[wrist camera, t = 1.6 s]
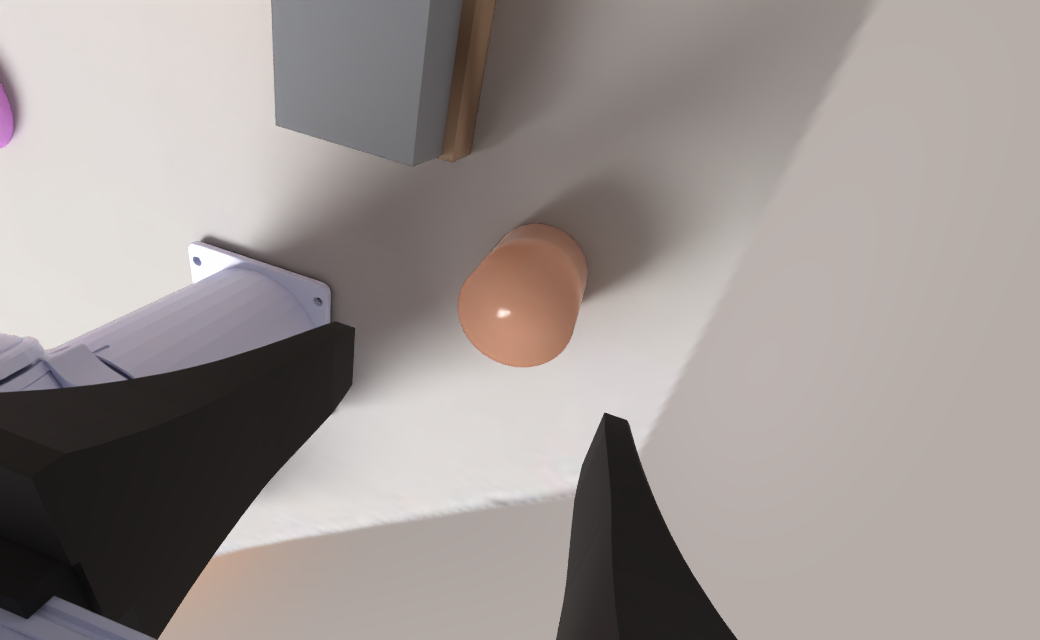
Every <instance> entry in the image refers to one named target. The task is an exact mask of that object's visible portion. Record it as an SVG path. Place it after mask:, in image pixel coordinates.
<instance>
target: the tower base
mask: <svg viewBox="0 0 1040 640" xmlns="http://www.w3.org/2000/svg"><path fill="white" fill-rule="evenodd" d="M495 3H496V0H463V2H462V10H461V17H460V25H459V32H458V40H457V47H456V54H455V62H454V69H453V76H452V83H451V91H450V98H449V105H448V113H447V120H446V127H445V135H444V142H443V149H442V156H439V157H436V158H439V159H442V160H446V161H449V162H454V161H456V160H458V159H461V158H463V157H465V156H467V155H469V154H470V152H471V146H472V140H473V134H474V129H475V123H476V117H477V111H478V105H479V99H480V93H481V87H482V81H483V75H484V69H485V63H486V57H487V51H488V45H489V39H490V33H491V27H492V21H493V15H494V9H495Z"/></svg>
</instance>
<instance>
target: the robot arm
mask: <svg viewBox="0 0 1040 640" xmlns="http://www.w3.org/2000/svg"><path fill="white" fill-rule="evenodd" d="M188 251H189V258H190V264H191V271H192V278H193V284H191V285H189V286H187V287H185V288H182V289H180V290H178V291H176V292H174V293H172V294H169V295H167V296H165V297H163V298H161V299H159V300H157V301H154V302H152V303H150V304H148V305H146V306H144V307H142V308H139V309H137V310H135V311H133V312H131V313H129V314H127V315H124V316H122V317H120V318H118V319H116V320H114V321H112V322H109V323H107V324H105V325H103V326H101V327H99V328H97V329H94V330H92V331H90V332H88V333H86V334H84V335H81V336H79V337H77V338H75V339H73V340H71V341H69V342H66V343H64V344H62V345H60V346H58V347H56V348H54V349H49V350H44V349H43V347H42V346H41V344H40V343H39V341H38V340H36V339H35V338H33V337H23V338H20V337H18V336H13V335H8V334H0V640H158V638H159V636H160V635H161V633H162V632H163V630H164V629H165V627H166V626H167V624H168V622H169V621H170V619H171V618H172V616H173V615H174V613H175V612H176V610H177V608H178V607H179V605H180V604H181V602H182V601H183V599H184V598H185V596H186V595H187V593H188V591H189V590H190V588H191V587H192V585H193V584H194V583H195V581H196V580H197V578H198V577H199V575H200V574H201V572H202V571H203V570H204V568H205V567H206V565H207V564H208V562H209V561H210V559H211V558H212V557H213V555H214V554H215V552H216V551H217V549H218V548H219V547H220V545H221V544H222V542H223V541H224V540H225V538H226V537H227V536H228V534H229V533H230V531H231V530H232V529H233V527H234V526H235V525H236V523H237V522H238V521H239V519H240V518H241V516H242V515H243V514H244V513H245V511H246V510H247V509H248V507H249V506H250V505H251V503H252V502H253V501H254V500H255V498H256V497H257V496H258V494H259V493H260V492H261V490H262V489H263V488H264V487H265V485H266V484H267V483H268V482H269V481H270V480H271V478H272V477H273V476H274V475H275V474H276V473H277V472H278V471H279V469H280V468H281V467H282V466H283V465H284V464H285V463H286V462H287V461H288V460H289V459H290V458H291V457H292V456H293V455H294V454H295V452H296V451H297V450H298V449H299V448H300V447H301V446H302V445H303V444H304V443H305V442H306V441H307V440H308V439H309V438H310V437H311V435H312V434H313V433H314V432H315V431H316V430H317V429H318V428H319V427H320V426H321V425H322V424H323V423H324V421H325V420H326V419H327V418H328V417H329V416H330V415H331V414H332V412H333V411H334V410H335V408H336V407H337V406H338V404H339V403H340V402H341V400H342V399H343V397H344V396H345V394H346V393H347V391H348V390H349V389H350V387H351V386H352V378H353V358H354V339H355V328H353V327H350V326H347V325H344V324H341V323H338V322H332V323H330V305H331V292H330V289H329V287H328V286H327V285H326V284H325V283H323V282H321V281H318V280H315V279H312V278H309V277H305V276H302V275H299V274H296V273H293V272H290V271H287V270H284V269H281V268H278V267H275V266H272V265H269V264H266V263H263V262H260V261H257V260H254V259H251V258H248V257H245V256H242V255H239V254H236V253H233V252H230V251H227V250H224V249H221V248H218V247H215V246H212V245H209V244H206V243H203V242H199V241H196V242H194V243H191V244H190V245H189V246H188ZM318 298H320V299H321V300H322V302H320V301H319V300H318ZM556 640H737V638H736V637H735V636H734V634H733V633H732V632H731V630H730V629H729V628H728V626H727V625H726V623H725V622H724V621H723V619H722V618H721V617H720V615H719V614H718V612H717V611H716V609H715V608H714V606H713V605H712V603H711V601H710V600H709V598H708V597H707V595H706V594H705V592H704V591H703V589H702V588H701V586H700V585H699V583H698V581H697V580H696V578H695V577H694V575H693V574H692V572H691V570H690V568H689V567H688V565H687V563H686V562H685V560H684V558H683V557H682V555H681V553H680V551H679V549H678V547H677V545H676V543H675V542H674V540H673V538H672V536H671V534H670V532H669V530H668V528H667V525H666V523H665V521H664V519H663V517H662V515H661V512H660V510H659V508H658V506H657V504H656V501H655V499H654V496H653V494H652V491H651V489H650V486H649V484H648V481H647V478H646V476H645V473H644V471H643V468H642V465H641V462H640V459H639V456H638V453H637V450H636V446H635V443H634V440H633V436H632V433H631V429H630V425H629V423H628V421H627V420H625V419H622V418H619V417H616V416H613V415H610V414H607V413H604V415H603V417H602V420H601V422H600V424H599V427H598V429H597V431H596V434H595V436H594V438H593V441H592V443H591V445H590V448H589V450H588V453H587V455H586V457H585V460H584V462H583V464H582V468H581V472H580V477H579V481H578V486H577V490H576V495H575V500H574V509H573V520H572V529H571V539H570V549H569V559H568V570H567V580H566V588H565V596H564V602H563V607H562V612H561V617H560V622H559V627H558V633H557V638H556Z"/></svg>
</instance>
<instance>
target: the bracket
mask: <svg viewBox="0 0 1040 640" xmlns="http://www.w3.org/2000/svg"><path fill="white" fill-rule="evenodd" d="M13 130H14V121H13V114H12V110H11V106H10V103H9V100H8V98H7V95H6V93H5V91H4V89H3V87H2V85H1V83H0V148H3V147H5V146H6V145H7V144H8V143H9V142H10V140H11V138H12V135H13Z"/></svg>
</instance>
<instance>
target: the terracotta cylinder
mask: <svg viewBox="0 0 1040 640" xmlns="http://www.w3.org/2000/svg"><path fill="white" fill-rule="evenodd" d="M587 279H588V267H587V262H586V258H585V256H584V254H583V251H582V250H581V248H580V246H579V245H578V244H577V243H576V241H575V240H574V239H573V238H572V237H571V236H569V235H568V234H567V233H565V232H564V231H562V230H560V229H558V228H556V227H553V226H550V225H546V224H527V225H523V226H520V227H517V228H515V229H513V230H512V231H510V232H509V233H507V234H506V235H505V236H504V237H503V238H502V239H501V240H500V242H499V243H498V244H497V245H496V246H495V247H494V248H493V250H492V251H491V252H490V253H489V254H488V255H487V256H486V258H485V259H484V260H483V261H482V262H481V263H480V265H479V266H478V267H477V268H476V269H475V270H474V271H473V273H472V274H471V275H470V276H469V277H468V278H467V280H466V281H465V283H464V284H463V286H462V289H461V291H460V294H459V298H458V315H459V320H460V323H461V326H462V328H463V331H464V333H465V334H466V336H467V338H468V339H469V340H470V342H471V343H472V344H473V345H474V346H475V347H476V348H477V349H478V350H479V351H480V352H482V353H483V354H484V355H486V356H487V357H489V358H490V359H492V360H494V361H496V362H499V363H502V364H505V365H508V366H514V367H533V366H538V365H541V364H544V363H546V362H548V361H551V360H552V359H554V358H555V357H557V356H558V355H559V354H560V353H561V352H562V351H563V350H564V349H565V348H566V346H567V344H568V343H569V341H570V339H571V336H572V333H573V330H574V326H575V323H576V319H577V316H578V312H579V309H580V305H581V302H582V298H583V295H584V291H585V287H586V284H587Z"/></svg>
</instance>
